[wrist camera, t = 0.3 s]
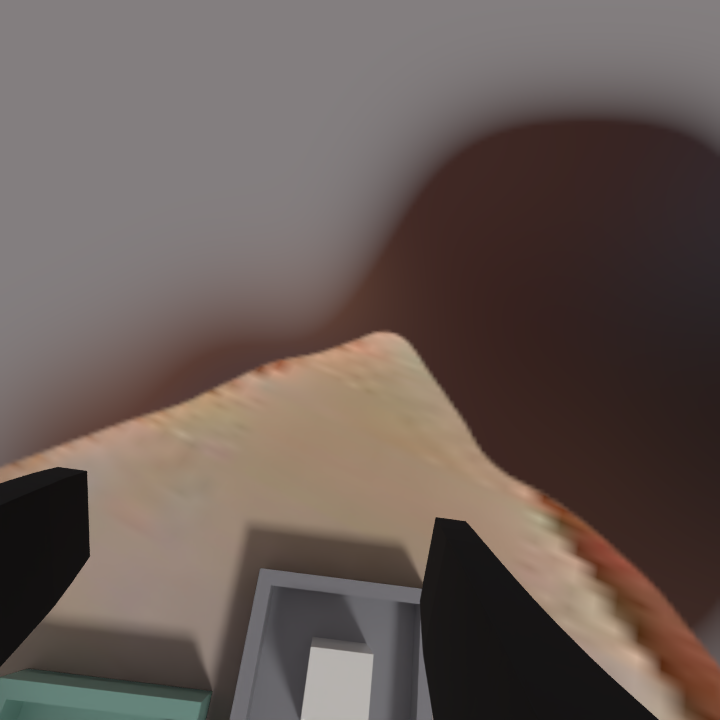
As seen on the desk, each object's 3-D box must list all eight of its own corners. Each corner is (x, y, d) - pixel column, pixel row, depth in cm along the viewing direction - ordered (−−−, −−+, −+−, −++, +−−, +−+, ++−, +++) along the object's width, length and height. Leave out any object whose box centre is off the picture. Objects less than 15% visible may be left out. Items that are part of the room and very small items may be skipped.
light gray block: (358, 731, 28) (365, 759, 24) (300, 724, 28) (296, 750, 24) (366, 643, 31) (373, 654, 26) (312, 636, 31) (310, 646, 26)
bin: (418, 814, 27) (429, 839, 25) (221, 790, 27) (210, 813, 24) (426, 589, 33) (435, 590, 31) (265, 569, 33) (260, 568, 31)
